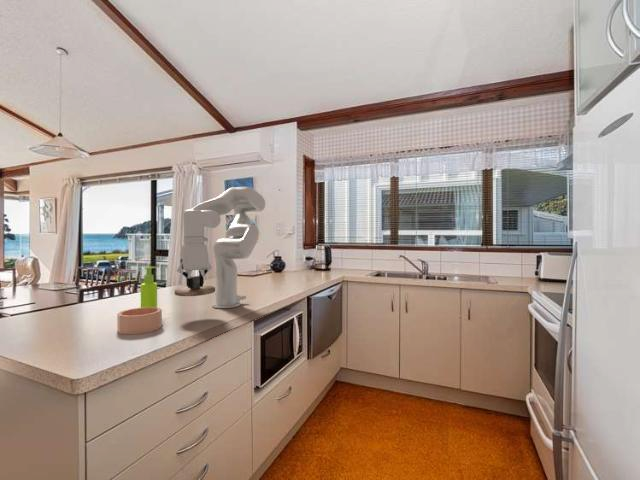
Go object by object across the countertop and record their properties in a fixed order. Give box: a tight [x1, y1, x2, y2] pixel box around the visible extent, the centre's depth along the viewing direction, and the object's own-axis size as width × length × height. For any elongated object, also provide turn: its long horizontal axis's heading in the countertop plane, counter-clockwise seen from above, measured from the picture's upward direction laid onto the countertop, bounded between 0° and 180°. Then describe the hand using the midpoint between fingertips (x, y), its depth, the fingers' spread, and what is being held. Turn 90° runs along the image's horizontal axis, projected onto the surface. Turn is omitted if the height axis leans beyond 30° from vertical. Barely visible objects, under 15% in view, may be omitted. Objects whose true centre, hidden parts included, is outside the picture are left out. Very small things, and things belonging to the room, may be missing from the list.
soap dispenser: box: [140, 266, 158, 308], centre depth 126 cm, size 6×7×20 cm
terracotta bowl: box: [116, 307, 163, 335], centre depth 108 cm, size 13×13×6 cm
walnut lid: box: [174, 275, 216, 297], centre depth 122 cm, size 15×15×6 cm
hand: (195, 286), depth 122 cm, fingers closed on walnut lid, 3 cm apart
